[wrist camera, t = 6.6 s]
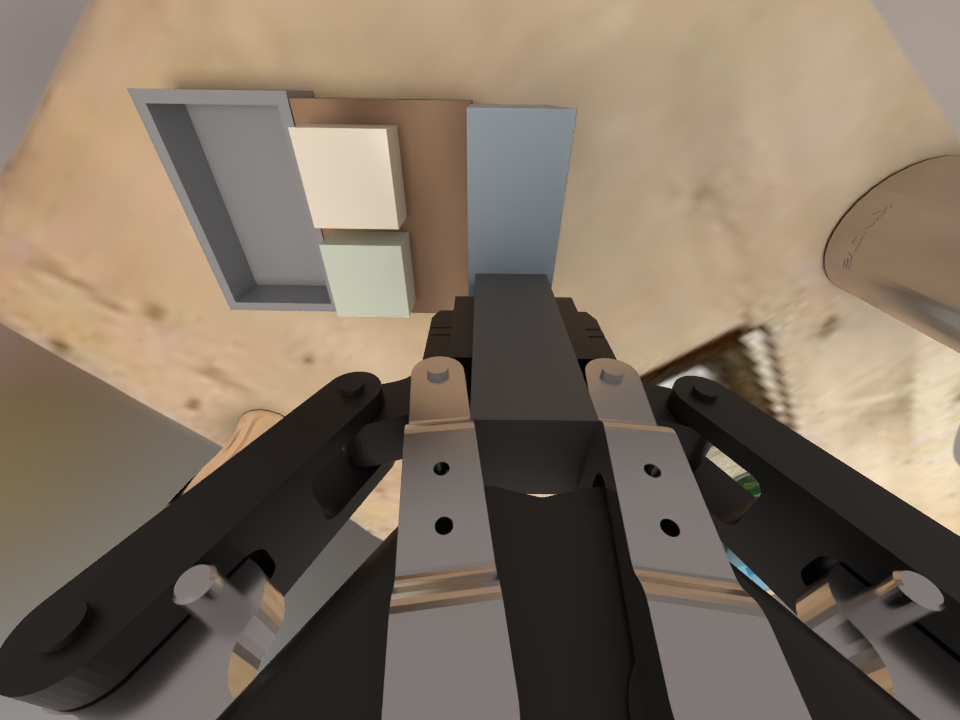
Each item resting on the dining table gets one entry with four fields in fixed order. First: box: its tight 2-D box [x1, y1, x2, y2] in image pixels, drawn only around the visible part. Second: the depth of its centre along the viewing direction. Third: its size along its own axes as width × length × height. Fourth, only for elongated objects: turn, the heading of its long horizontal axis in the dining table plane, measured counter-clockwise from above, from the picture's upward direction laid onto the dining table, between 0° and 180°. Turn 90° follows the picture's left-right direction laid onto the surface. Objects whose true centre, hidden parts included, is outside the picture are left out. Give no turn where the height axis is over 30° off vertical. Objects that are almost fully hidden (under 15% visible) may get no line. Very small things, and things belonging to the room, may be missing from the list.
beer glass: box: [163, 410, 284, 510], centre depth 32 cm, size 7×7×15 cm
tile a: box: [288, 124, 407, 229], centre depth 18 cm, size 4×4×2 cm
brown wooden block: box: [289, 98, 472, 313], centre depth 23 cm, size 9×12×4 cm
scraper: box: [467, 104, 599, 494], centre depth 12 cm, size 3×12×12 cm, turn 179°
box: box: [127, 88, 336, 311], centre depth 23 cm, size 8×13×4 cm, turn 179°
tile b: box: [319, 231, 416, 318], centre depth 22 cm, size 4×4×2 cm
